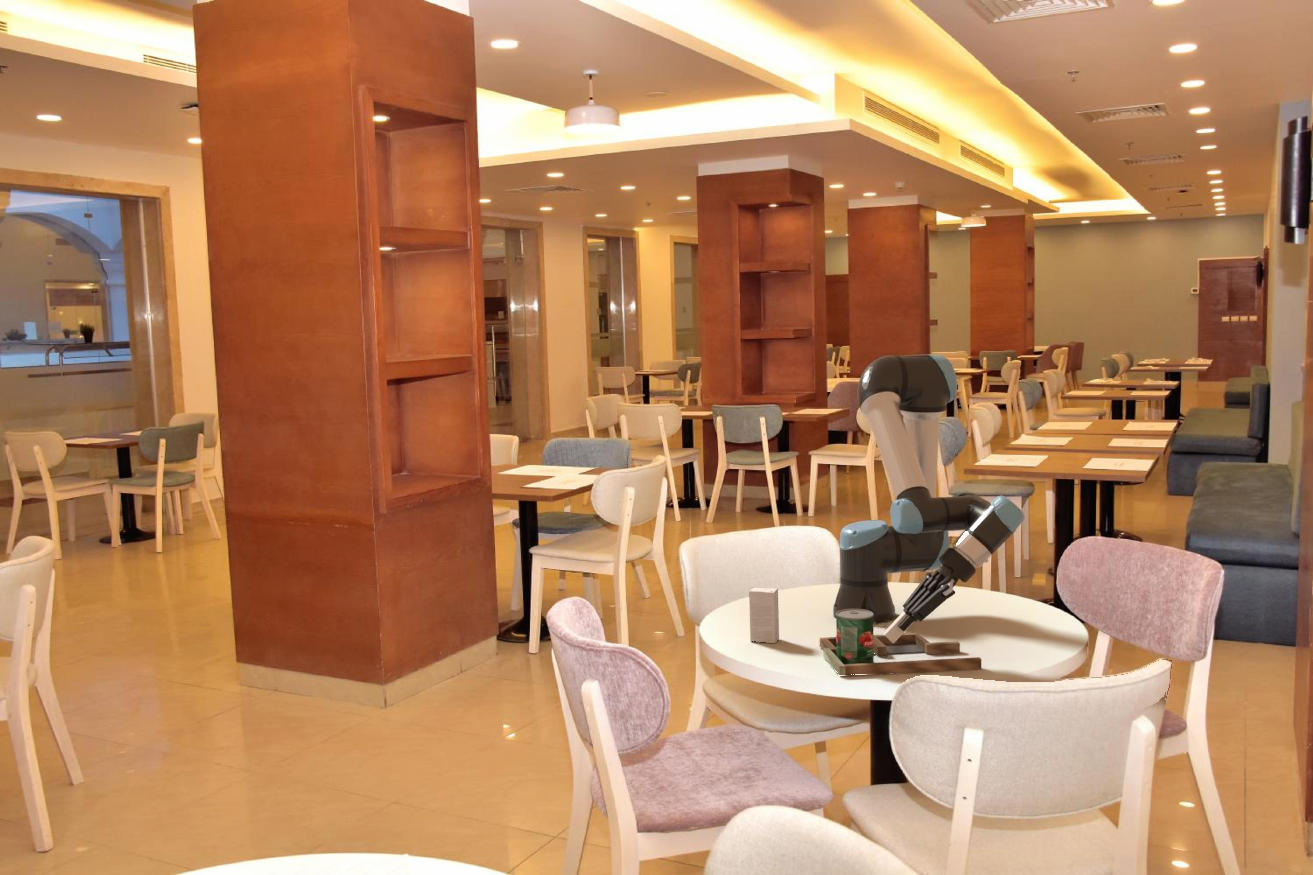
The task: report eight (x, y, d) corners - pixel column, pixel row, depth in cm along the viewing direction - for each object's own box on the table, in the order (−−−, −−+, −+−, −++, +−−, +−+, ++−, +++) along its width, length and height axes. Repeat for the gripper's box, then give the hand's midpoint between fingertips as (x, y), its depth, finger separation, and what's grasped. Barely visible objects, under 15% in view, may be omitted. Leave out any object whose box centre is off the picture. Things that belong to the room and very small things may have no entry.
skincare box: (779, 638, 259) (778, 588, 258) (775, 643, 255) (774, 592, 254) (754, 637, 261) (753, 586, 260) (749, 642, 257) (748, 591, 256)
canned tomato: (876, 669, 235) (876, 617, 234) (838, 669, 235) (838, 618, 234) (871, 657, 242) (870, 608, 241) (834, 658, 243) (834, 608, 242)
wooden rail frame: (944, 640, 254) (944, 631, 254) (981, 669, 233) (981, 658, 233) (814, 647, 251) (814, 637, 251) (839, 676, 230) (839, 666, 230)
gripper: (987, 576, 232) (909, 658, 232) (965, 563, 244) (891, 641, 245) (962, 552, 231) (884, 635, 231) (941, 540, 244) (867, 619, 244)
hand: (888, 638), depth 238 cm, fingers closed
